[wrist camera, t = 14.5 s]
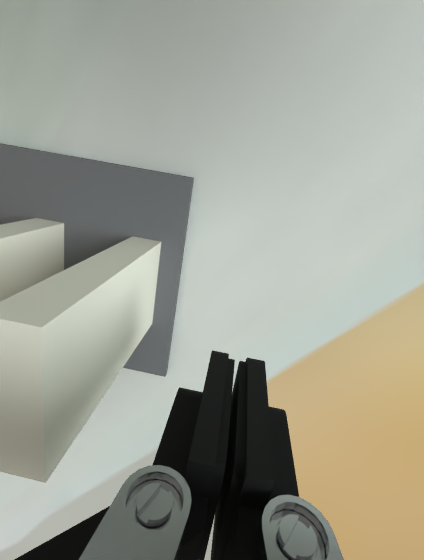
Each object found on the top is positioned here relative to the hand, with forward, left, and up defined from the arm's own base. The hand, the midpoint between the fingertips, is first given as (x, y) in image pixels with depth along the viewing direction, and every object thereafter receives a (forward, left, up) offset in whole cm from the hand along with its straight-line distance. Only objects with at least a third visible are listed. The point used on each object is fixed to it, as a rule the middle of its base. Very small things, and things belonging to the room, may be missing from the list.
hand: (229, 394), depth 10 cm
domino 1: (+5, 0, -8) cm, 9 cm away
